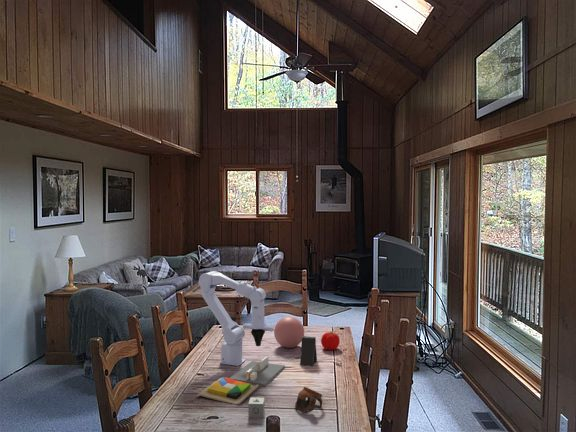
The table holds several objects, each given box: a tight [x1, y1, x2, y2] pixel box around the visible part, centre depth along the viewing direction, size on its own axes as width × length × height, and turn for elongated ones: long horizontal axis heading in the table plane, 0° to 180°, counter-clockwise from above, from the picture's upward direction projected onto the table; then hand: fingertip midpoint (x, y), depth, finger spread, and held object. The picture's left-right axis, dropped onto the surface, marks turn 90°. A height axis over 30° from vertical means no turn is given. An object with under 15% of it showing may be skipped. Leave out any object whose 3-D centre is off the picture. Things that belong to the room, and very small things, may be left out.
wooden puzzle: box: [196, 376, 259, 405], centre depth 175 cm, size 17×19×4 cm
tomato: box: [320, 331, 341, 351], centre depth 228 cm, size 9×10×8 cm
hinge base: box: [229, 355, 285, 387], centre depth 194 cm, size 16×22×4 cm
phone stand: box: [299, 335, 318, 367], centre depth 208 cm, size 9×6×12 cm, turn 164°
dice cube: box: [247, 396, 266, 419], centre depth 157 cm, size 5×5×5 cm
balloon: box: [273, 316, 305, 349], centre depth 232 cm, size 15×20×15 cm
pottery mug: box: [294, 386, 323, 414], centre depth 161 cm, size 12×10×8 cm
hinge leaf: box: [247, 364, 259, 380], centre depth 190 cm, size 11×1×3 cm, turn 159°
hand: (258, 345), depth 204 cm, fingers closed
